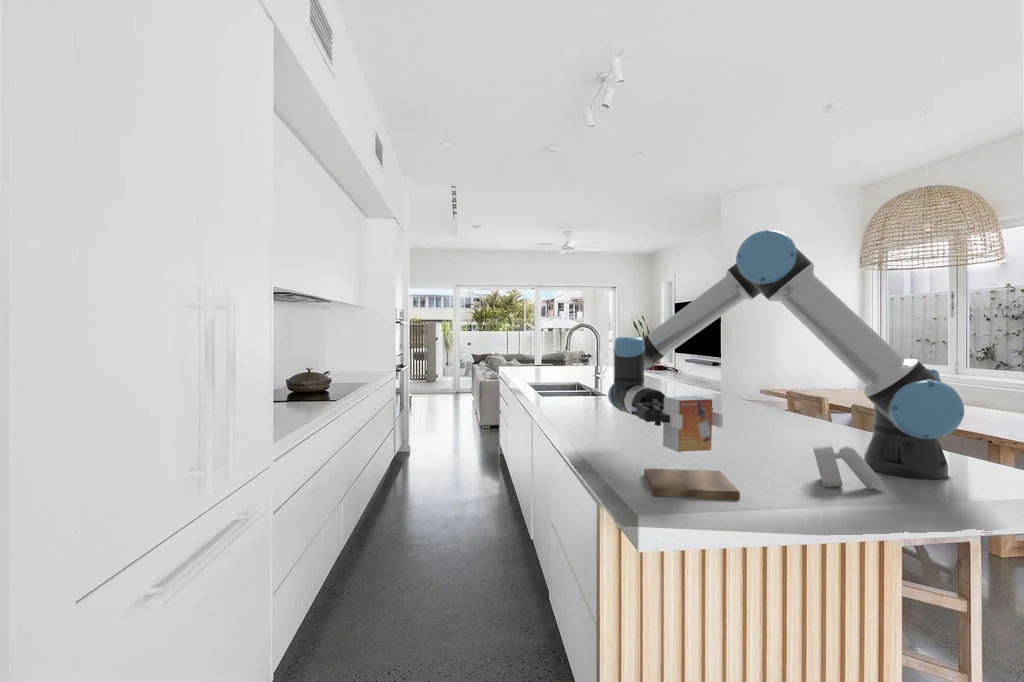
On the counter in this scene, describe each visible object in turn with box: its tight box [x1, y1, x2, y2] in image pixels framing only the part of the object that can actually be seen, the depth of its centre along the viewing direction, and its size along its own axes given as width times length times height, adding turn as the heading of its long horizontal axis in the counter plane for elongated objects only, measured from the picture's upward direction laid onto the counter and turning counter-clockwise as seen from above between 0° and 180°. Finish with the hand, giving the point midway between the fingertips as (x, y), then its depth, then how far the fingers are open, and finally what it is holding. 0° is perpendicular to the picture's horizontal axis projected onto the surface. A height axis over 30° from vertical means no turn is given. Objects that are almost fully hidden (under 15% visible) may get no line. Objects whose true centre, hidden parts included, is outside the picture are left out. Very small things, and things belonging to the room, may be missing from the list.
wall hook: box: [811, 439, 883, 490], centre depth 105 cm, size 8×10×10 cm
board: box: [643, 467, 741, 500], centre depth 105 cm, size 16×14×2 cm
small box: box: [662, 395, 713, 453], centre depth 105 cm, size 8×6×10 cm
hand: (700, 421), depth 100 cm, fingers closed on small box, 8 cm apart
